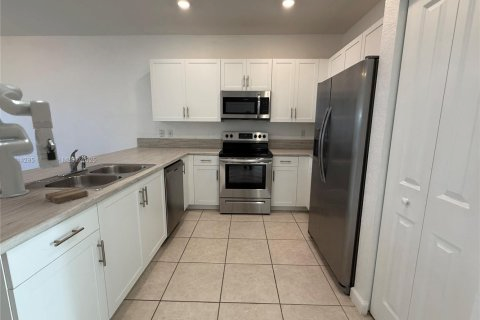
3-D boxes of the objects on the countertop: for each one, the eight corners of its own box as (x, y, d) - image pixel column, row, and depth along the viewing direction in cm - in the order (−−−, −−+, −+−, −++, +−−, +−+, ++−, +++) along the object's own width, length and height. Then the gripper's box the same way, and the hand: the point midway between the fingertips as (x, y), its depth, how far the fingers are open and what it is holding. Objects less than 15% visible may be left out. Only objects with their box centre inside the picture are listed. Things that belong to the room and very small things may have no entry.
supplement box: (39, 167, 115) (35, 143, 113) (57, 165, 121) (53, 142, 119) (40, 169, 110) (36, 144, 108) (59, 167, 116) (55, 143, 114)
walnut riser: (46, 199, 119) (45, 194, 119) (75, 192, 132) (74, 187, 131) (58, 204, 113) (57, 198, 112) (87, 196, 125) (87, 191, 124)
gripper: (27, 126, 113) (32, 159, 116) (40, 125, 105) (46, 161, 107) (45, 125, 120) (50, 157, 123) (59, 125, 111) (64, 159, 114)
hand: (48, 159), depth 115 cm, fingers closed on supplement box, 8 cm apart
